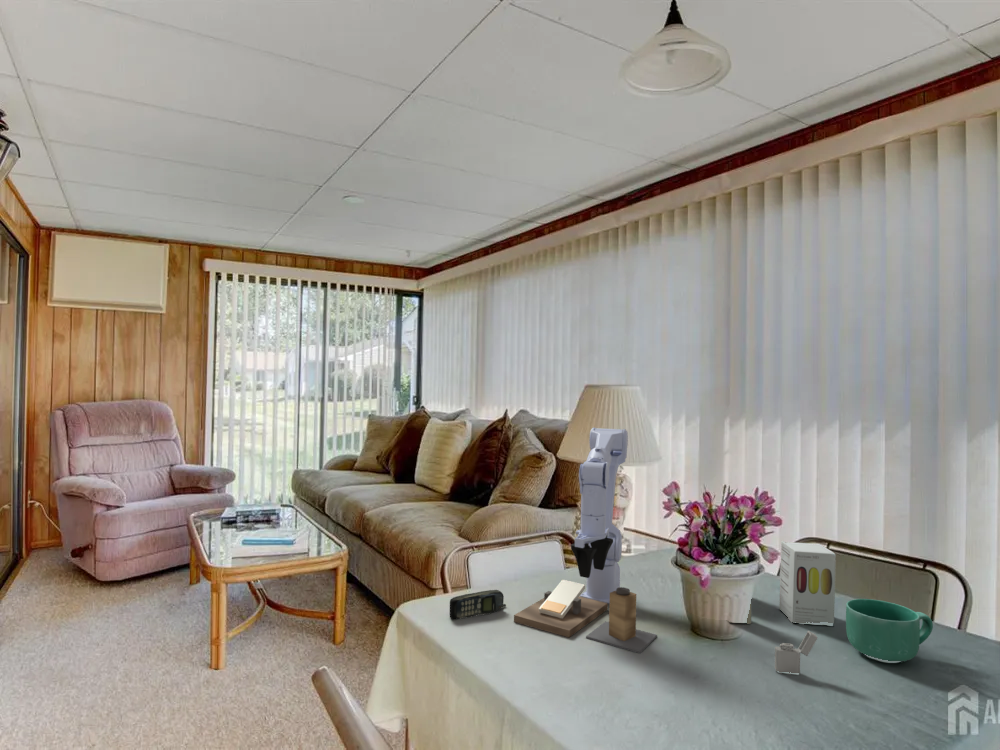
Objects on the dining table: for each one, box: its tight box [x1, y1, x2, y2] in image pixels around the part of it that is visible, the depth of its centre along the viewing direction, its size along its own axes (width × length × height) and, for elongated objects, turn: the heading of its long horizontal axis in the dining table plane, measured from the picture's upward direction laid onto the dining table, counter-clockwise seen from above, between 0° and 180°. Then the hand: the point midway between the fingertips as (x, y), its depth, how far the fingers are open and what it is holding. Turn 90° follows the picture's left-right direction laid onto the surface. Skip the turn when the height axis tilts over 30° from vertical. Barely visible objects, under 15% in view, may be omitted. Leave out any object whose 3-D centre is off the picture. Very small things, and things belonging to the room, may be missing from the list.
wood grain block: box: [608, 586, 637, 641], centre depth 128 cm, size 4×4×10 cm
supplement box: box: [778, 541, 837, 624], centre depth 141 cm, size 10×9×17 cm
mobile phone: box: [449, 589, 507, 621], centre depth 139 cm, size 5×3×15 cm
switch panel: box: [513, 590, 609, 638], centre depth 139 cm, size 20×14×4 cm
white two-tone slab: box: [539, 579, 586, 619], centre depth 139 cm, size 12×6×1 cm, turn 146°
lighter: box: [774, 630, 819, 674], centre depth 113 cm, size 7×2×8 cm, turn 78°
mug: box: [845, 598, 934, 662], centre depth 121 cm, size 17×13×10 cm
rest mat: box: [585, 621, 658, 654], centre depth 128 cm, size 10×12×1 cm
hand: (591, 572), depth 138 cm, fingers open, 7 cm apart
